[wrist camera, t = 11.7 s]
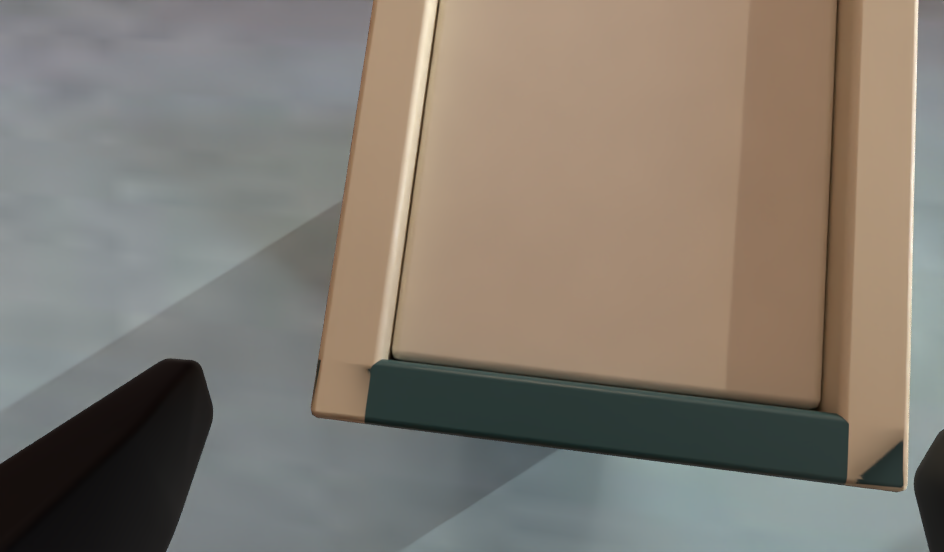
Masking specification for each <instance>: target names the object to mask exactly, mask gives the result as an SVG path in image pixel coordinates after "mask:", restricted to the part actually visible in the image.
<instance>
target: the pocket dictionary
mask: <svg viewBox="0 0 944 552" xmlns="http://www.w3.org/2000/svg"><path fill="white" fill-rule="evenodd" d="M917 37H918V0H373V7H372V13H371V20H370V26H369V33H368V39H367V46H366V52H365V59H364V65H363V72H362V78H361V85H360V91H359V98H358V104H357V111H356V117H355V124H354V130H353V137H352V143H351V150H350V156H349V163H348V169H347V176H346V182H345V189H344V195H343V202H342V208H341V215H340V221H339V228H338V234H337V241H336V247H335V254H334V260H333V267H332V273H331V280H330V286H329V293H328V299H327V306H326V312H325V319H324V325H323V332H322V338H321V345H320V351H319V358H318V364H317V371H316V377H315V384H314V390H313V396H312V403H311V412H312V415H314V416H315V417H317V418H324V419H332V420H339V421H347V422H355V423H363V424H371V425H378V426H386V427H394V428H402V429H409V430H417V431H425V432H433V433H441V434H448V435H456V436H464V437H472V438H480V439H487V440H495V441H503V442H511V443H519V444H526V445H534V446H542V447H550V448H557V449H565V450H573V451H581V452H589V453H596V454H604V455H612V456H620V457H628V458H635V459H643V460H651V461H659V462H666V463H674V464H682V465H690V466H698V467H705V468H713V469H721V470H729V471H737V472H744V473H752V474H760V475H768V476H775V477H783V478H791V479H799V480H807V481H814V482H822V483H830V484H838V485H846V486H853V487H861V488H869V489H877V490H884V491H892V492H900V491H903V490H906V487H907V485H908V442H909V397H910V352H911V307H912V262H913V217H914V172H915V127H916V82H917Z"/></svg>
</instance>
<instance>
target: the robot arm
mask: <svg viewBox="0 0 944 552" xmlns="http://www.w3.org/2000/svg"><path fill="white" fill-rule="evenodd" d="M212 419H213V406H212V401H211V398H210V394H209V391H208V387H207V384H206V380H205V377H204V373H203V370H202V368H201V366H200V364H199V363H198V362H196V361H193V360H182V359H171V358H170V359H165V360H162V361H160V362H158V363H157V364H155V365H154V366H152V367H151V368H149V369H147V370H146V371H144V372H143V373H141V374H140V375H138V376H137V377H135V378H133V379H132V380H130V381H129V382H127V383H126V384H124V385H123V386H121V387H119V388H118V389H116V390H115V391H113V392H112V393H110V394H108V395H107V396H105V397H104V398H102V399H101V400H99V401H98V402H96V403H94V404H93V405H91V406H90V407H88V408H87V409H85V410H84V411H82V412H80V413H79V414H77V415H76V416H74V417H73V418H71V419H70V420H68V421H66V422H65V423H63V424H62V425H60V426H59V427H57V428H56V429H54V430H52V431H51V432H49V433H48V434H46V435H45V436H43V437H42V438H40V439H38V440H37V441H35V442H34V443H32V444H31V445H29V446H27V447H26V448H24V449H23V450H21V451H20V452H18V453H17V454H15V455H13V456H12V457H10V458H9V459H7V460H6V461H4V462H3V463H1V464H0V552H166V551H167V548H168V546H169V544H170V541H171V539H172V537H173V534H174V532H175V529H176V527H177V524H178V521H179V518H180V516H181V513H182V510H183V507H184V504H185V501H186V498H187V495H188V492H189V489H190V486H191V483H192V480H193V477H194V474H195V471H196V468H197V465H198V462H199V459H200V456H201V454H202V451H203V448H204V445H205V442H206V439H207V436H208V433H209V430H210V427H211V423H212ZM914 491H915V496H916V500H917V503H918V507H919V511H920V515H921V519H922V523H923V527H924V531H925V535H926V539H927V543H928V547H929V551H930V552H944V429H943V430H942V431H940V432H939V434H938V435H937V437H936V438H935V440H934V442H933V443H932V445H931V447H930V448H929V450H928V452H927V453H926V455H925V457H924V458H923V460H922V462H921V463H920V465H919V467H918V468H917V471H916V473H915V477H914Z"/></svg>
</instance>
